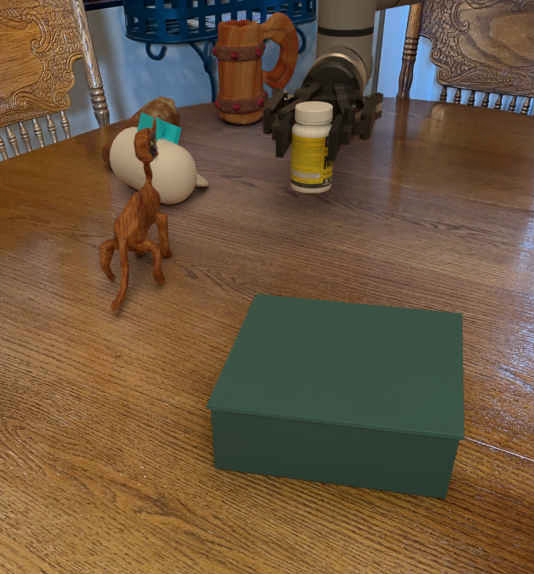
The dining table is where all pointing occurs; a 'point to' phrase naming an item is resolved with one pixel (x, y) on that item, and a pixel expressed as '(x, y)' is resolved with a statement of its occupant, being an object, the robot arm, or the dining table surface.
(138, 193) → the brown animal figurine
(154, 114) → the bread
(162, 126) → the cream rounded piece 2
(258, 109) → the mug
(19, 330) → the dining table surface
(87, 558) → the dining table surface
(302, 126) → the supplement bottle
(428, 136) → the dining table surface
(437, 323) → the box
